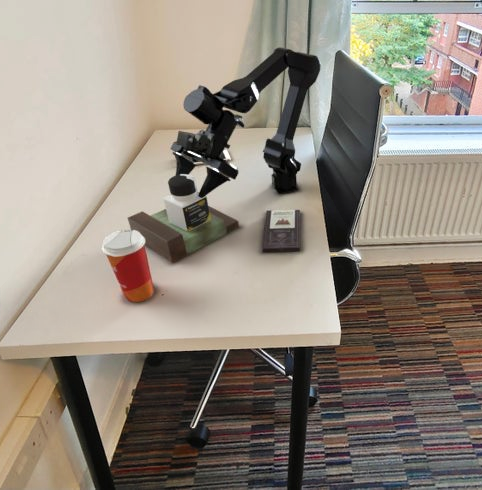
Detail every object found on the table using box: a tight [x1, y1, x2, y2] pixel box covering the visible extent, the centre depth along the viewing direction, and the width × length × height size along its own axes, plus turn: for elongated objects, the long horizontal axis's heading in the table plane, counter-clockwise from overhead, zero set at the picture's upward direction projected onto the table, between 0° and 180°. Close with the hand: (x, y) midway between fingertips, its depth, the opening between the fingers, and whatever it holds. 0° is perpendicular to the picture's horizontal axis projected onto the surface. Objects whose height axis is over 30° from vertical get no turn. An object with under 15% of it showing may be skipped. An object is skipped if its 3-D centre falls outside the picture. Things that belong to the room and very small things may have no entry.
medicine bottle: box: [163, 174, 210, 232], centre depth 106 cm, size 7×7×12 cm
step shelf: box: [127, 205, 240, 264], centre depth 110 cm, size 20×16×6 cm
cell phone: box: [191, 149, 231, 166], centre depth 148 cm, size 8×16×1 cm, turn 113°
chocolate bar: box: [261, 209, 301, 253], centre depth 114 cm, size 9×1×18 cm
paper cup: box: [101, 229, 155, 303], centre depth 89 cm, size 8×8×14 cm
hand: (187, 191), depth 105 cm, fingers open, 9 cm apart
